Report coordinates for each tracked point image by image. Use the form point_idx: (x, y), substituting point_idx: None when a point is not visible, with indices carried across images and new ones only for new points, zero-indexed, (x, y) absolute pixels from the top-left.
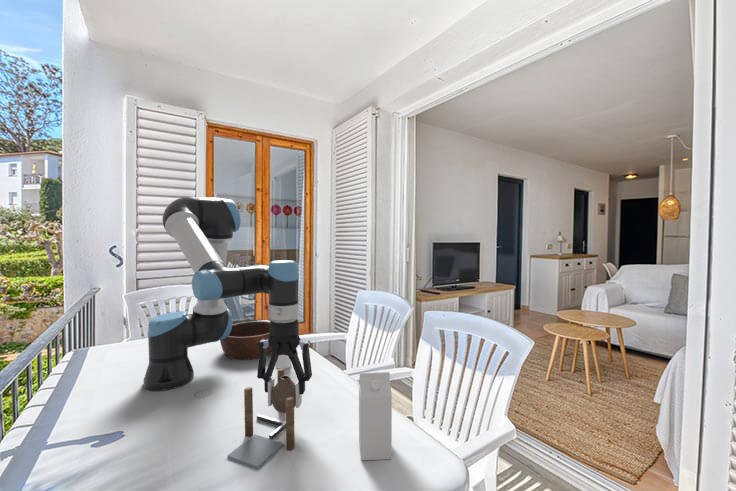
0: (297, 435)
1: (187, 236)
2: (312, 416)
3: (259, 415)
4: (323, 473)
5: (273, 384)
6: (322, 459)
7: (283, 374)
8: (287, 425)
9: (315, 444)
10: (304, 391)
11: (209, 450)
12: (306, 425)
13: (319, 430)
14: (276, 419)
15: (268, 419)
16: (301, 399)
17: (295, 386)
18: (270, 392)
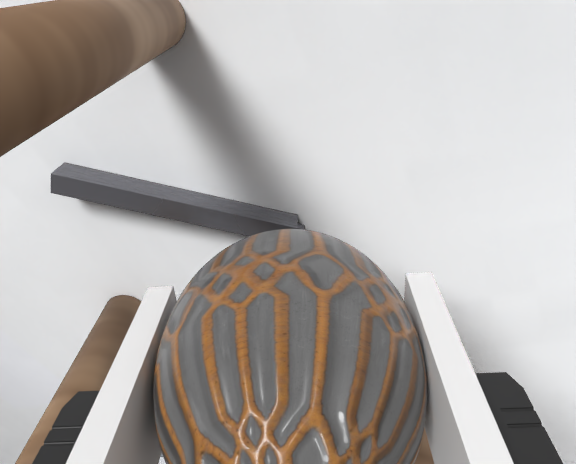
0: (397, 278)
1: None
2: (444, 61)
3: (67, 187)
4: (571, 459)
5: (126, 443)
6: (562, 403)
7: (34, 113)
8: None
9: (516, 327)
10: (511, 382)
11: (39, 420)
12: (426, 180)
13: (524, 216)
14: (215, 212)
15: (159, 215)
16: (440, 299)
17: (416, 436)
18: (159, 458)
